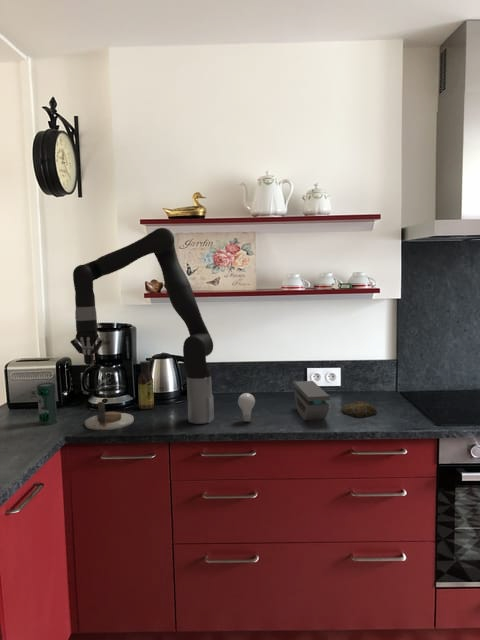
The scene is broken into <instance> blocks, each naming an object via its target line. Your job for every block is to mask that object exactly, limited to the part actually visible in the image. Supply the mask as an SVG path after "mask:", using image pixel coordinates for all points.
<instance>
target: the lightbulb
mask: <svg viewBox="0 0 480 640" xmlns="http://www.w3.org/2000/svg"><path fill="white" fill-rule="evenodd" d="M237 404H238V406H239V408H240V409H241V412H242V415H243V421H244V422H245V423H249V422H250V421H251V419H252V418H251V414H252V410H253V408H254V407H255V404H256V398H255V397H254V395H253V394H251V393H249V392H244V393H241V395H239V397H238V400H237Z"/></svg>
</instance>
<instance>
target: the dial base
mask: <svg viewBox="0 0 480 640" xmlns="http://www.w3.org/2000/svg"><path fill="white" fill-rule="evenodd" d="M120 413H121V417H122V418H121V419H120V420H118V421H114V422H107V423H106V424H105V425H100V423H99V421H97V415H98V414H97V415H93V416H90V417H88V418H86V419H85V421H84V426H85V428H87V429H89V430H93V431H110V430H111V431H112V430H117V429H121V428H126V427H128V426H130V425H132V424H133V423H134V420H135V419H134V416H133V415H132V414H130V413H124V412H120Z"/></svg>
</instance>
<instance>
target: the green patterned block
mask: <svg viewBox="0 0 480 640" xmlns="http://www.w3.org/2000/svg"><path fill="white" fill-rule="evenodd" d="M36 394H37V406H38V407H37V409H38V420H39V422H38V423H39V425H40V426H49V425H54V424H56V423H58V413H57V400H56V399H57V397H56V384H55V383H54V382H44V383H39V384H37V385H36Z"/></svg>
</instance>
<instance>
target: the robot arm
mask: <svg viewBox="0 0 480 640" xmlns="http://www.w3.org/2000/svg"><path fill="white" fill-rule="evenodd" d="M176 251H177V250H176V246H175V235H174V234H173V232H172V231H171V230H170V229H168V228H165V227H159V228H157V229H154V230H153V231H151V232H150V233H148V234H147V235H144V236H143V237H141V238H139V239H138V240H136V241H134V242H132V243H130V244H128V245H126V246H124V247H121V248H119V249H116V250H113V251H111V252H109V253H107V254H105V255H102V256H100V257H98V258H97V259H95V260H91V261H89V262H86V263H84V264H80V265H77V266H76V267H75V268H74V269H73V271H72V277H73V278H72V280H73V288H74V301H75V311H74V312H75V313H74V315H75V329H76V330H75V331H76V334H75V338H74V339H72V340H70V344H71V345H72V346H73V347H74V349H75V350H76V352H78V353H79V354H81V355H83V362H84V364H85V365H86V366H91V365H92V364H93V362H94V354H95V353H98V351H99V350H100V348H101V347H102V346H103V344H104V343H105V339H102V338H100V337H99V333H98V320H97V319H98V318H97V317H98V316H97V310H96V296H95V292H94V281H95V280H97V279H100V278H101V277H104V276H107V275H110V274H113V273H115V272H118V271H120V270H122V269H124V268H126V267H127V266H130V265H131V264H132V263H134V262H136V261H137V260H139V259H141V258H143V257H145V256H147V255H151V254H154V256H155V258H156V261H157V262H158V264H159V266H160V269H161V272H162V277H163V282H164V285H165V289H166V293H167V295H168V298H169V301H170V305H171V306H172V308H173V309H174V311H175V312H176V314H177V315H178V316H179V317H180V318H181V320H182V321H183V322H184V323H185V326H186V328H187V331H188V333H189V336H188V337H186V339H185V340H184V342H183V346H182V353H183V367H184V370H185V372H186V390H187V392H186V393H187V418H188V423H191V424H196V425H198V424H199V425H200V424H201V425H203V424H210V423H212V421H213V420H214V419H215V411H214V410H215V409H214V408H215V405H214V394H213V393H212V370H211V368H210V367H208V365H207V357H208V356H209V355H211V354H212V352H213V351H214V341H213V338H212V336H211V334H210V332H209V330H208V328H207V326H206V324H205V321H204V319H203V317H202V314H201V311H200V308H199V305H198V303H197V300H196V298H195V294H194V292H193V288H192V286H191V283H190V281H189V279H188V277H187V274H186V273H185V271H184V269H183V268H182V266H181V264H180V261H179V259H178V258H179V257H178V254H177V252H176ZM95 344H96V345H95Z"/></svg>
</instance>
